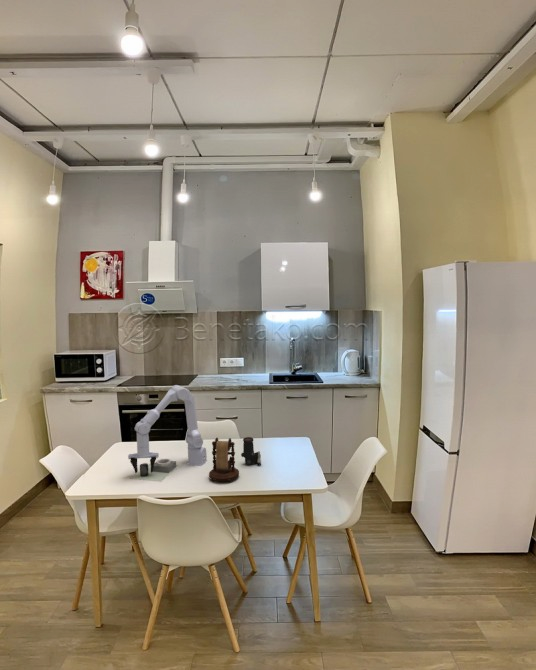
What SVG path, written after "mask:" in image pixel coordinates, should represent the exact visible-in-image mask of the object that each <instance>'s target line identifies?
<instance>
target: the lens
mask: <svg viewBox="0 0 536 670" xmlns="http://www.w3.org/2000/svg"><path fill="white" fill-rule="evenodd" d="M148 465H149V463H146V462H145V463H140V464H139V472H140V476H141V477H146V476H148V475H149V473H148Z"/></svg>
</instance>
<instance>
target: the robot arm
mask: <svg viewBox="0 0 536 670" xmlns="http://www.w3.org/2000/svg"><path fill="white" fill-rule="evenodd" d="M179 400H180V401H181V400H182V401H183V402H184V407H185V416H186V417H185V418H186V425H187V431H185V432H186V433H185V434H186V436H185V442H186V444H187V462H186V463H185V465H186V466H187V465H188V466H200V467H202V466H203V465H204V464H206V462H208V460H207V459H208V458H207V447H203V445H204V439H203V438H202V433H201V431H200V430H199V427H198V416H197V409H196V401H195V396H194V394H192V393H191V391H190V389H189V388H186V387H182V386H181V385H178V384H174V385H172V387H171V388H170V389H169V390H168V391H167V392H166V394H165V395H164V396H163V398H162V399H161V401H160V402H159V403H158V404H157V406H155V408H153V409H150V410H147V412H146V414H145V416H144V417H142V418H141V419H140V421H138V422H137V423H135V426H134V431H135V432H136V451H137V452H136V453H135V452H134V453H129V454H128V455H127V457H128V458H127V459H128V460H129V461H130V462H129V463H130V464H131V466H132V467H133V470H134V474H137V473H138V472H139V468H138V459H149V458H150V459H149V462H150V463H149V464H151V472H153V467H154V463H156V461H157V459H158V458H159V452H150V443H149V442H150V437H149V433H150V432H151V427H152V426H153V425H154V424H155V422H157V420H158V419H159V418H160V415H161V413H162V412H163V411H164V409H166V407H167V406H169V404H171V403H173V402H177V401H179Z"/></svg>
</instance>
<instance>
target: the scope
mask: <svg viewBox="0 0 536 670" xmlns="http://www.w3.org/2000/svg"><path fill="white" fill-rule="evenodd" d="M242 442H243V451H242V452H241V453H240V454H241V457H242V458H244V465H245V466H254V465H255V466H256V465H257V466H261V465H262V459H261V451H256V452H255V449H254V438H253V437H251V436H246V437H243V439H242Z"/></svg>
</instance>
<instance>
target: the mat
mask: <svg viewBox="0 0 536 670" xmlns="http://www.w3.org/2000/svg"><path fill="white" fill-rule="evenodd" d="M179 467H180V465H177V464H176V468H175V469H173V470H172V471H171V472H170V473H163V472H151V463H148V473H149V475H148V476H146V477H141V476H140V471H138V472H137V473H134V475H132V476H131V477H130V478H129V479H131V480H132V479H133V480H139V481H151V482H159V483H161V482H163V481H164V480H165V479H166V478H167V477H169V475H171V474H172V473H173V472H174V471H175V470H177V469H178V468H179Z"/></svg>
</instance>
